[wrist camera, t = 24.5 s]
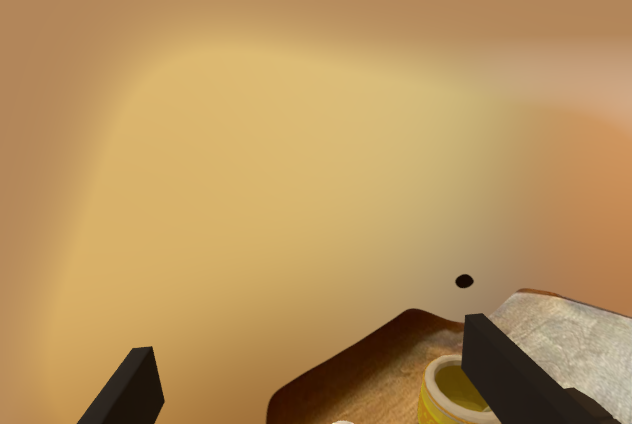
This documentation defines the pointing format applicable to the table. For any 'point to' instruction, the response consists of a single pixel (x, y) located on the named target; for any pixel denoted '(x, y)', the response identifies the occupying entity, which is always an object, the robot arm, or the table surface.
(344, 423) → the supplement bottle
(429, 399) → the mug
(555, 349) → the table surface
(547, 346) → the table surface
